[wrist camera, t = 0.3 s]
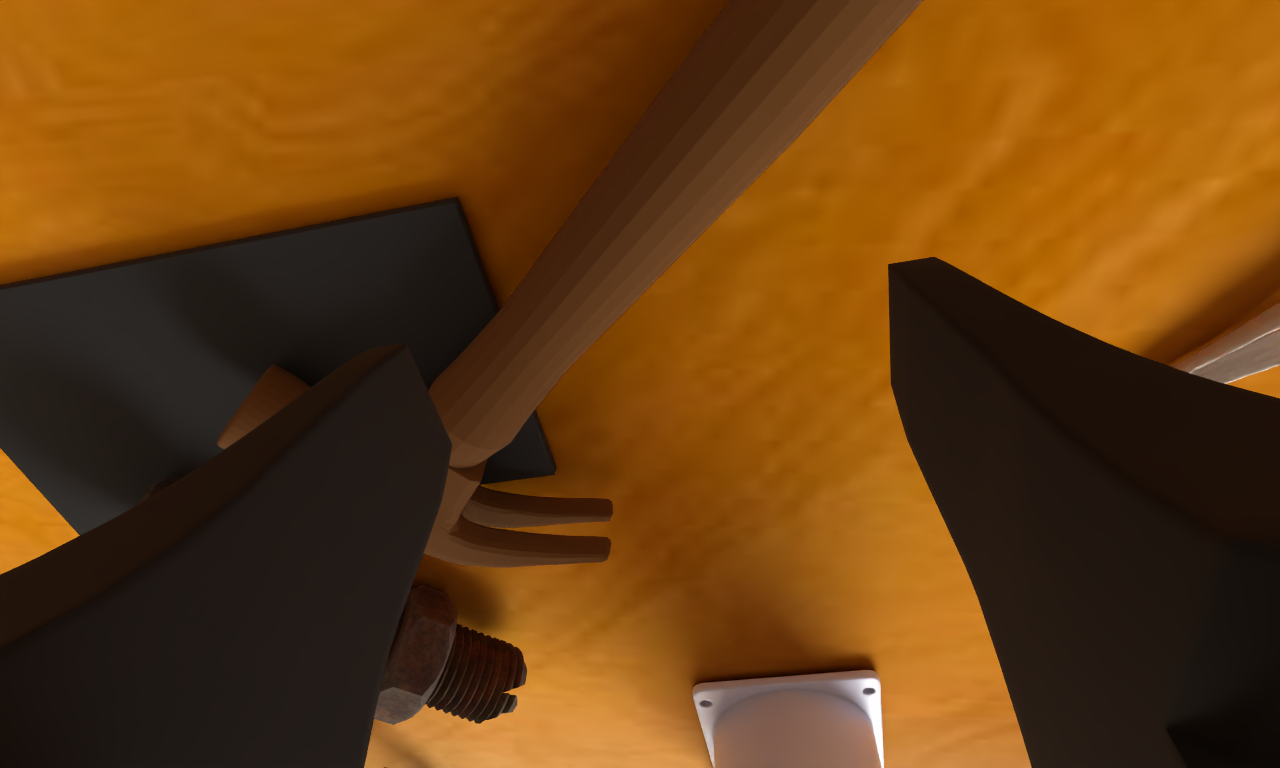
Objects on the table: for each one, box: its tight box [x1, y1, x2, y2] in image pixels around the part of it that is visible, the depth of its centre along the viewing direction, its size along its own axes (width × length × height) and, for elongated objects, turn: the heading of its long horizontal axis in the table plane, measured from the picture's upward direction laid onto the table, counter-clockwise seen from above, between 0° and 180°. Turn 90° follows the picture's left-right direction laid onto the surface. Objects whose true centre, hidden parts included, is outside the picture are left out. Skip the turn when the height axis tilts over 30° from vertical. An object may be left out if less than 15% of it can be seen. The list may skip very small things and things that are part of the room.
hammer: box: [217, 0, 923, 567], centre depth 18 cm, size 12×3×30 cm
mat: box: [0, 197, 556, 535], centre depth 24 cm, size 10×19×1 cm, turn 102°
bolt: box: [139, 476, 527, 725], centre depth 28 cm, size 6×5×15 cm
